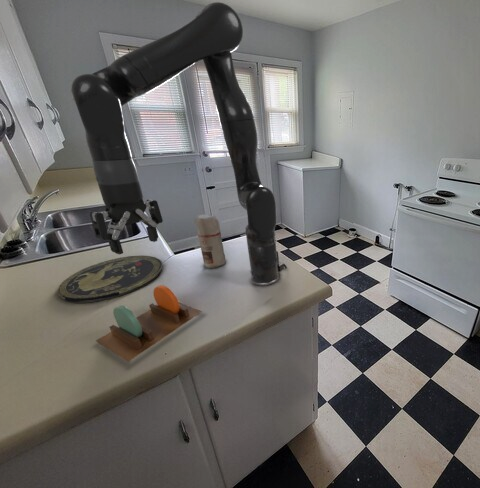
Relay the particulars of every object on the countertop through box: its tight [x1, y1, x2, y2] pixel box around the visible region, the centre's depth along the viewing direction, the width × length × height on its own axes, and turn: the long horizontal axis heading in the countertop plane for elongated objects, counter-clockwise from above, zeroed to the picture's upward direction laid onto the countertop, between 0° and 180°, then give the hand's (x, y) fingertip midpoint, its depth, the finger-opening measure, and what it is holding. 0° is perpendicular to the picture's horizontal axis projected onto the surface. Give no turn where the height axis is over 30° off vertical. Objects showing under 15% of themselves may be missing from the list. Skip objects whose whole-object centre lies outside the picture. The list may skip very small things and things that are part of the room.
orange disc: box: [152, 284, 180, 314], centre depth 73 cm, size 1×9×9 cm, turn 63°
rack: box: [95, 300, 203, 362], centre depth 71 cm, size 20×14×4 cm
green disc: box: [112, 304, 142, 338], centre depth 65 cm, size 1×9×9 cm, turn 63°
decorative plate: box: [57, 255, 164, 304], centre depth 96 cm, size 30×2×30 cm
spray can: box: [193, 213, 227, 269], centre depth 102 cm, size 8×8×20 cm
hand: (137, 246), depth 66 cm, fingers open, 8 cm apart
